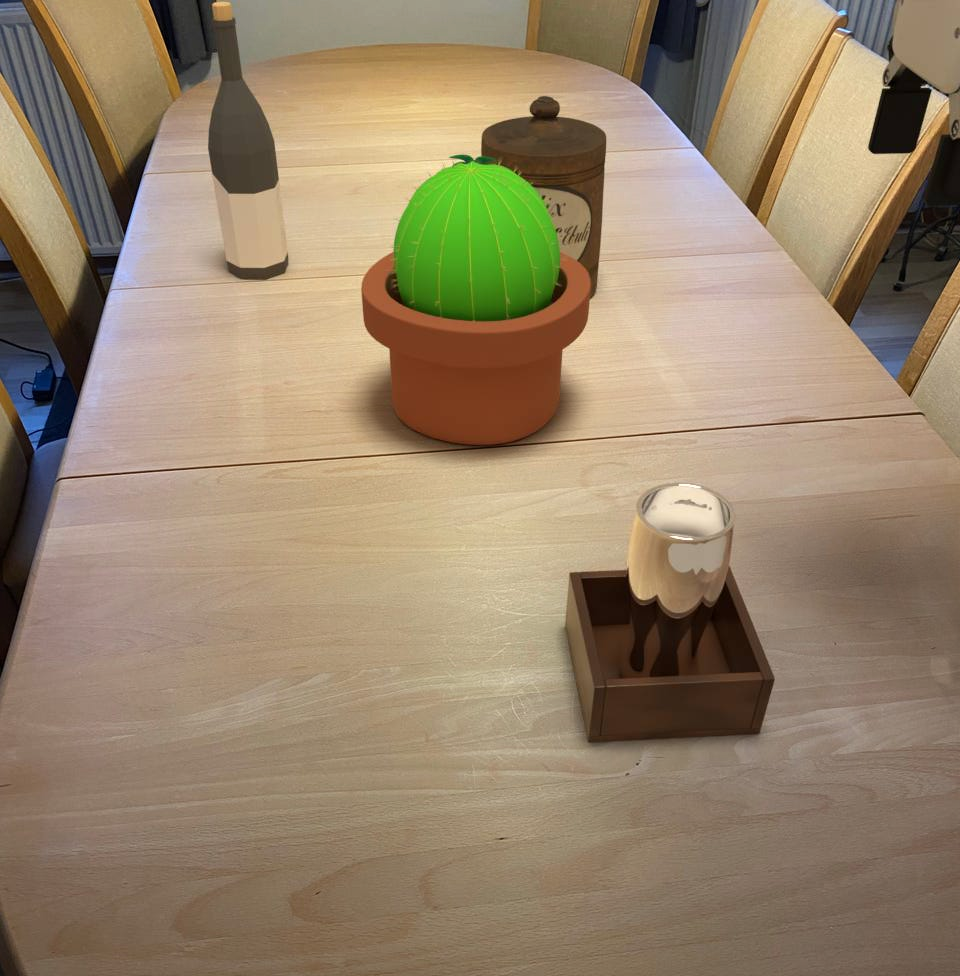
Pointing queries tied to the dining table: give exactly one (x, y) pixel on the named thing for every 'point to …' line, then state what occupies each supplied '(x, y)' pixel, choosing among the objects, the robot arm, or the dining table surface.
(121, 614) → the dining table surface
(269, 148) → the wine bottle
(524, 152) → the wooden container
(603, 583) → the crate
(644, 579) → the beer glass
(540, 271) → the potted cactus
